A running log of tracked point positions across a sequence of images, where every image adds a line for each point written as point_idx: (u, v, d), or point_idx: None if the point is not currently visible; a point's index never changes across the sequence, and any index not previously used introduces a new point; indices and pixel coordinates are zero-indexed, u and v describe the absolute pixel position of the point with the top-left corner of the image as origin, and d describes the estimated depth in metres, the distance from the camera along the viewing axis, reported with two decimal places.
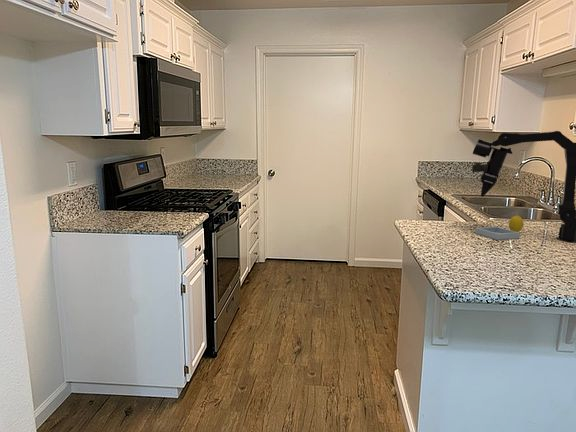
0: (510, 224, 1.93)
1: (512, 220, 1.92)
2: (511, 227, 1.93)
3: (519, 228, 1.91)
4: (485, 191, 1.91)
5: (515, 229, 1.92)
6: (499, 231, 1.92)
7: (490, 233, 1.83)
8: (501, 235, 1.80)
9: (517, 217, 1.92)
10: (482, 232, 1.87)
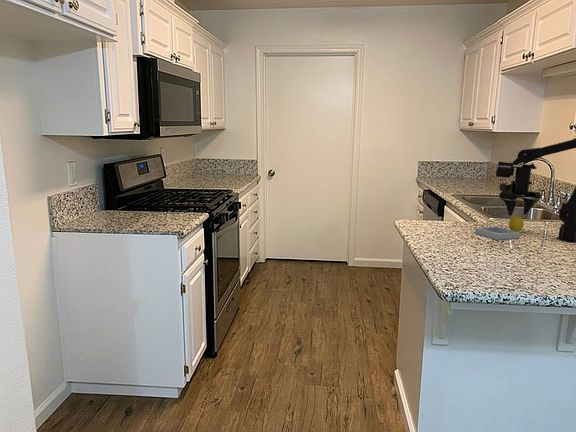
0: (510, 224, 1.93)
1: (512, 220, 1.92)
2: (511, 227, 1.93)
3: (519, 228, 1.91)
4: (510, 210, 1.90)
5: (515, 229, 1.92)
6: (499, 231, 1.92)
7: (490, 233, 1.83)
8: (501, 235, 1.80)
9: (517, 217, 1.92)
10: (482, 232, 1.87)
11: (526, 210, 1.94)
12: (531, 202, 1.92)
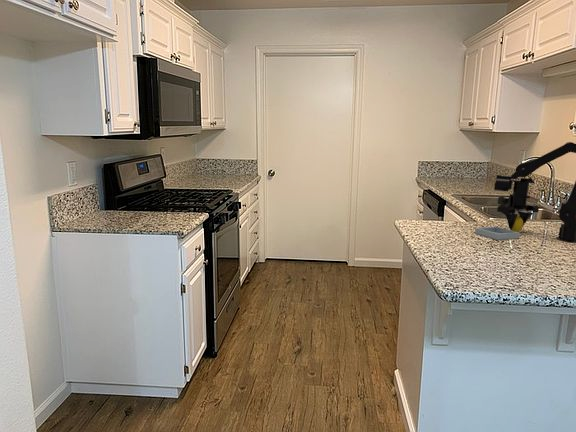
0: None
1: None
2: None
3: (519, 228, 1.91)
4: (511, 223, 1.91)
5: (515, 229, 1.92)
6: (499, 231, 1.92)
7: (490, 233, 1.83)
8: (501, 235, 1.80)
9: (517, 217, 1.92)
10: (482, 232, 1.87)
11: None
12: (526, 216, 1.92)
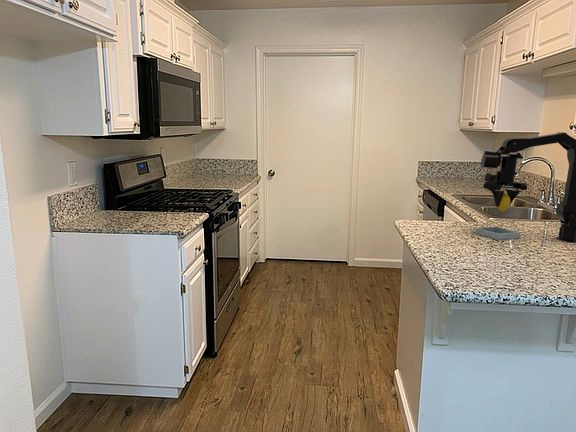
0: None
1: None
2: None
3: (506, 206, 1.84)
4: (497, 200, 1.84)
5: (502, 207, 1.84)
6: (499, 231, 1.92)
7: (490, 233, 1.83)
8: (501, 235, 1.80)
9: (504, 195, 1.84)
10: (482, 232, 1.87)
11: None
12: (514, 193, 1.85)
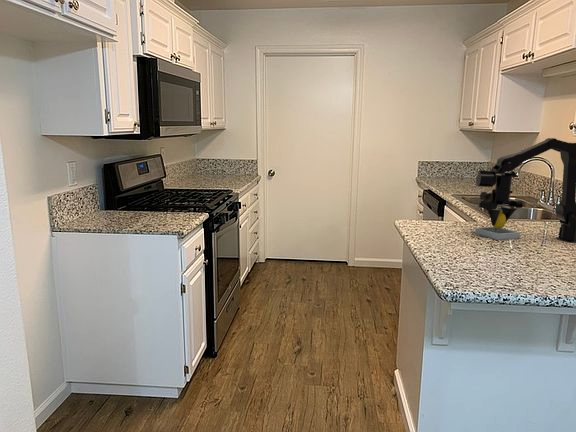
0: None
1: None
2: None
3: (502, 224, 1.84)
4: (493, 219, 1.84)
5: (497, 225, 1.84)
6: (499, 231, 1.92)
7: (490, 233, 1.83)
8: (501, 235, 1.80)
9: (499, 213, 1.84)
10: (482, 232, 1.87)
11: None
12: (509, 211, 1.85)
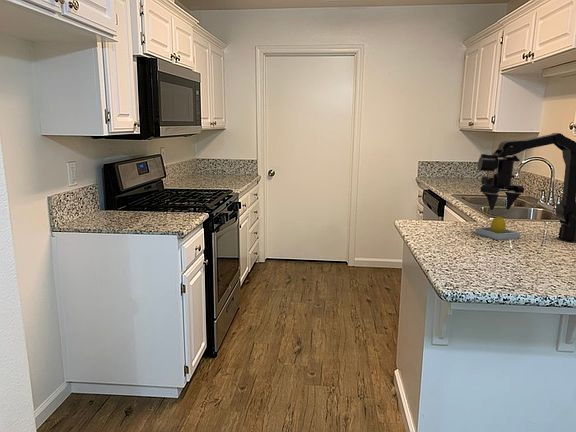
0: (492, 225, 1.86)
1: (494, 221, 1.85)
2: (493, 228, 1.86)
3: (501, 229, 1.84)
4: (491, 204, 1.82)
5: (497, 230, 1.85)
6: None
7: (490, 233, 1.83)
8: (501, 235, 1.80)
9: (499, 218, 1.85)
10: (482, 232, 1.87)
11: (509, 204, 1.86)
12: (514, 196, 1.84)
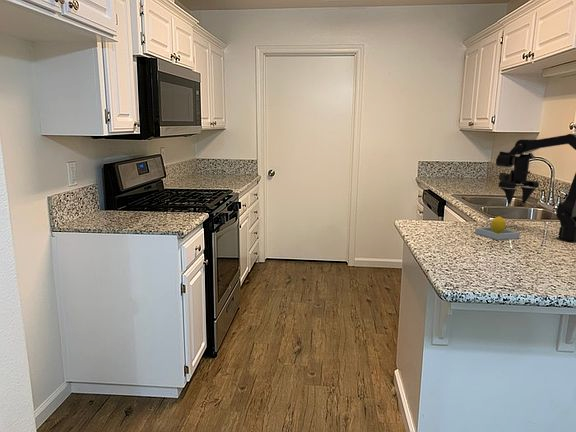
0: (492, 225, 1.86)
1: (494, 221, 1.85)
2: (493, 228, 1.86)
3: (501, 229, 1.84)
4: (509, 198, 1.96)
5: (497, 230, 1.85)
6: None
7: (490, 233, 1.83)
8: (501, 235, 1.80)
9: (499, 218, 1.85)
10: (482, 232, 1.87)
11: (524, 199, 2.01)
12: (529, 191, 1.99)
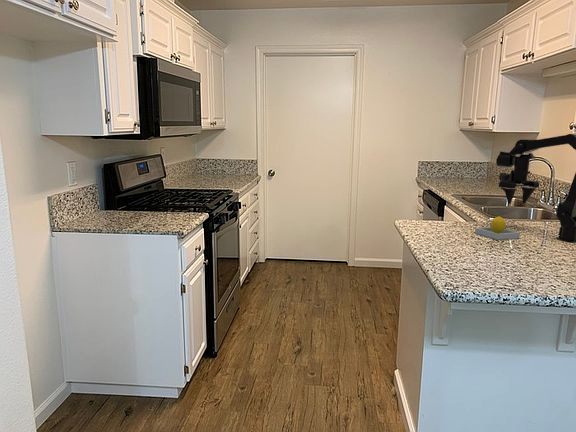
0: (492, 225, 1.86)
1: (494, 221, 1.85)
2: (493, 228, 1.86)
3: (501, 229, 1.84)
4: (509, 198, 1.97)
5: (497, 230, 1.85)
6: None
7: (490, 233, 1.83)
8: (501, 235, 1.80)
9: (499, 218, 1.85)
10: (482, 232, 1.87)
11: (525, 199, 2.01)
12: (529, 191, 1.99)
